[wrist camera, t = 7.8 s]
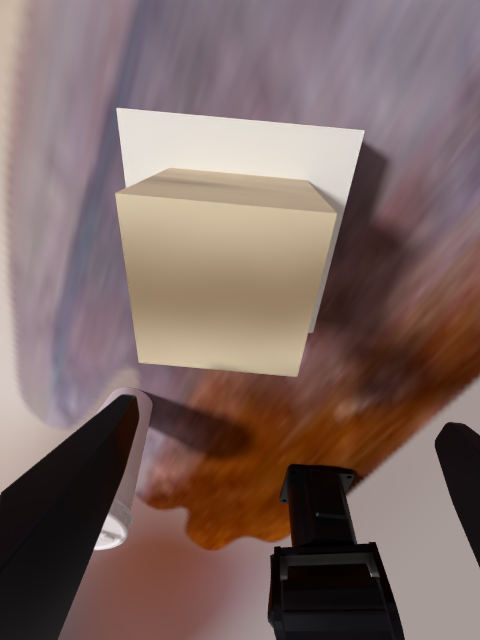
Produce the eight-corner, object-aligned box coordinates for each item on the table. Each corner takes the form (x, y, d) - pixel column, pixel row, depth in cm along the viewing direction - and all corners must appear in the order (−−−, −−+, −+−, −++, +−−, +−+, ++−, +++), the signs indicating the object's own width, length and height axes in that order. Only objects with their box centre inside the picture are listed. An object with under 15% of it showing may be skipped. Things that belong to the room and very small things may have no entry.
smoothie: (152, 370, 24) (49, 608, 12) (178, 422, 27) (118, 649, 15) (80, 380, 25) (-80, 609, 13) (113, 430, 28) (11, 647, 16)
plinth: (305, 306, 20) (312, 332, 17) (156, 293, 20) (141, 317, 17) (346, 129, 15) (364, 130, 12) (140, 111, 15) (116, 107, 12)
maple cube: (284, 299, 16) (297, 376, 11) (175, 289, 16) (139, 362, 11) (306, 179, 13) (337, 213, 8) (169, 167, 13) (115, 193, 8)
